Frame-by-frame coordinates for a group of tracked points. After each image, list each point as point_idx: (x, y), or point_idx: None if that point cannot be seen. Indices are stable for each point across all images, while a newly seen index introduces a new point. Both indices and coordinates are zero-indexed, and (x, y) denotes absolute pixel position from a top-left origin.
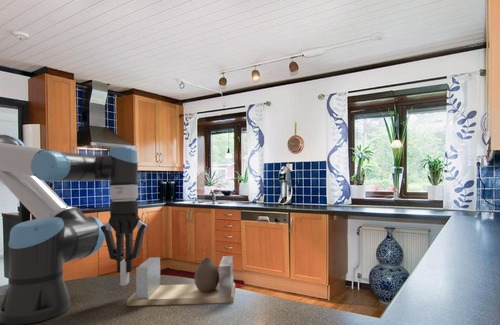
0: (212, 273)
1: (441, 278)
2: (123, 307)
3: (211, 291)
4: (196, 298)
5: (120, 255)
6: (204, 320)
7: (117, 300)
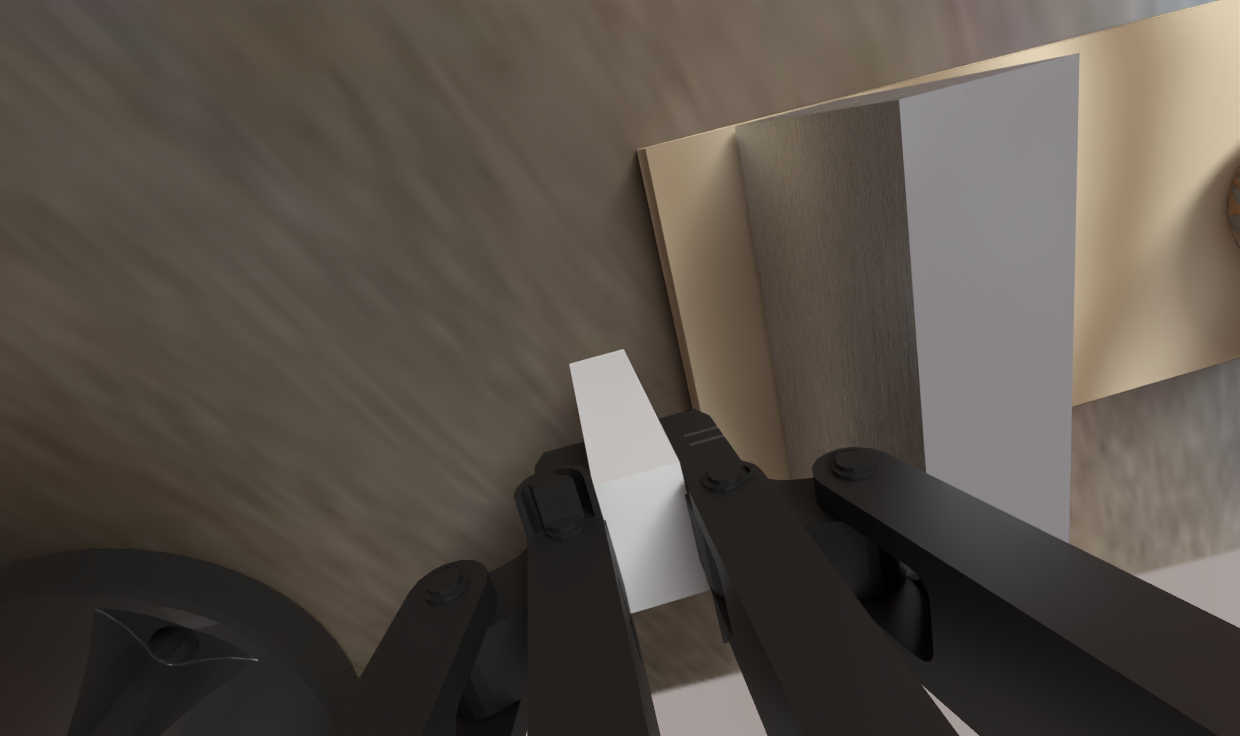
0: None
1: None
2: None
3: None
4: (1201, 364)
5: (648, 686)
6: (1222, 553)
7: (562, 411)
